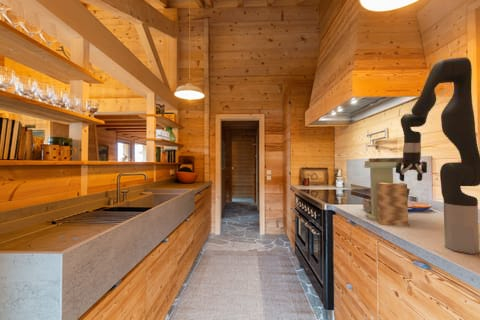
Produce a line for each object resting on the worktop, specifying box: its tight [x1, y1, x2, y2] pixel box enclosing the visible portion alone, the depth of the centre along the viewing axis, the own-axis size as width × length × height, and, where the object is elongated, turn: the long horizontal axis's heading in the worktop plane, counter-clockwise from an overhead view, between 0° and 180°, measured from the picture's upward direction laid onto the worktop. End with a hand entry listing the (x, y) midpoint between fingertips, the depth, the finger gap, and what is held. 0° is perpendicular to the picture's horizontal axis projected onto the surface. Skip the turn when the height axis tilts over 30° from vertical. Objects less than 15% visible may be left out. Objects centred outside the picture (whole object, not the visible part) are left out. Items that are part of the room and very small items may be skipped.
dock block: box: [376, 182, 410, 228], centre depth 118 cm, size 13×9×22 cm, turn 69°
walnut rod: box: [368, 157, 403, 163], centre depth 126 cm, size 24×4×4 cm, turn 69°
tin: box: [362, 198, 371, 214], centre depth 147 cm, size 15×3×8 cm, turn 168°
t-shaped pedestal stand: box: [364, 160, 397, 222], centre depth 128 cm, size 16×10×34 cm, turn 69°
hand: (410, 180), depth 118 cm, fingers open, 8 cm apart
